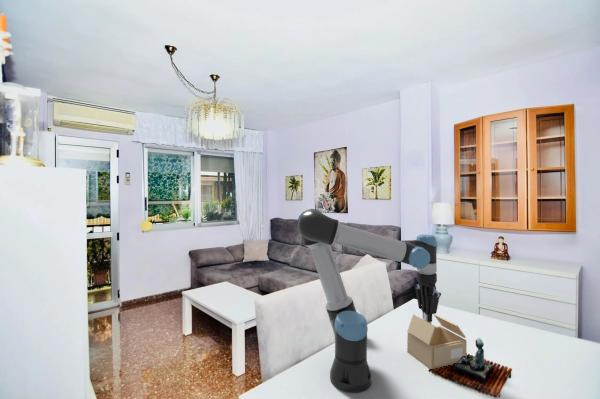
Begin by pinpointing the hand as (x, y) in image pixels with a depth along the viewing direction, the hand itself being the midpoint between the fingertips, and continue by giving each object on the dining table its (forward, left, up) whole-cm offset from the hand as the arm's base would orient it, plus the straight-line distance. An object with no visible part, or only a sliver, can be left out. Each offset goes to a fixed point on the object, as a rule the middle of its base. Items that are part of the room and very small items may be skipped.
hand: (427, 328), depth 125 cm
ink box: (-18, +29, -13) cm, 37 cm away
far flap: (+14, 0, -4) cm, 15 cm away
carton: (+5, 0, -13) cm, 14 cm away
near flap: (-5, 0, -4) cm, 6 cm away
